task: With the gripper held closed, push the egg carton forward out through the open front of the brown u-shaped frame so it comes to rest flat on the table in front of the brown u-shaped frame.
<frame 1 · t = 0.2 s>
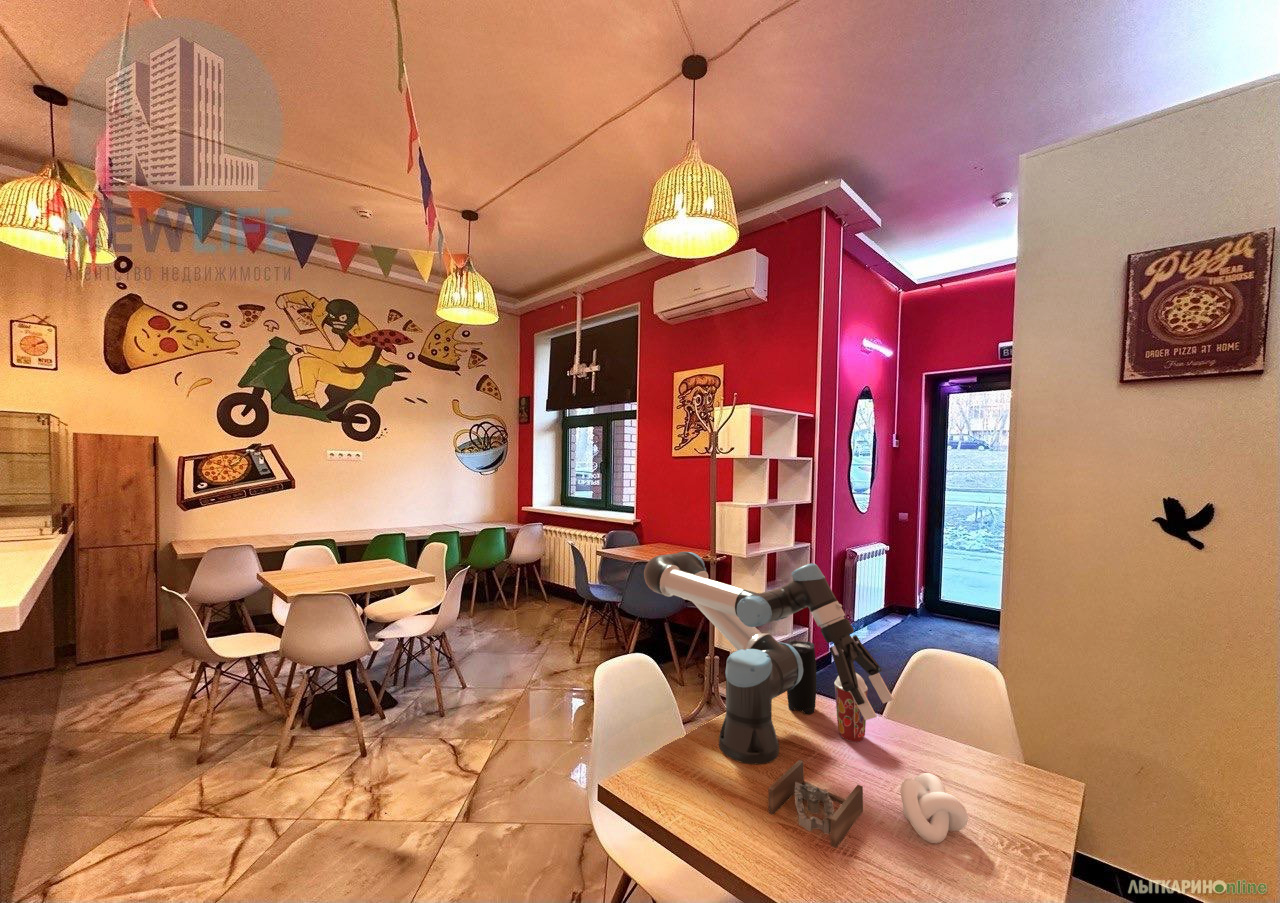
hand: (880, 709, 116), 15 cm above the table, tool tilted 30°, fingers open, 13 cm apart
smoothie: (851, 737, 132), on the table
brown u-shaped frame: (815, 812, 101), on the table
portable speaker: (801, 709, 148), on the table
egg carton: (813, 817, 101), on the table
white knot sculpture: (927, 827, 98), on the table
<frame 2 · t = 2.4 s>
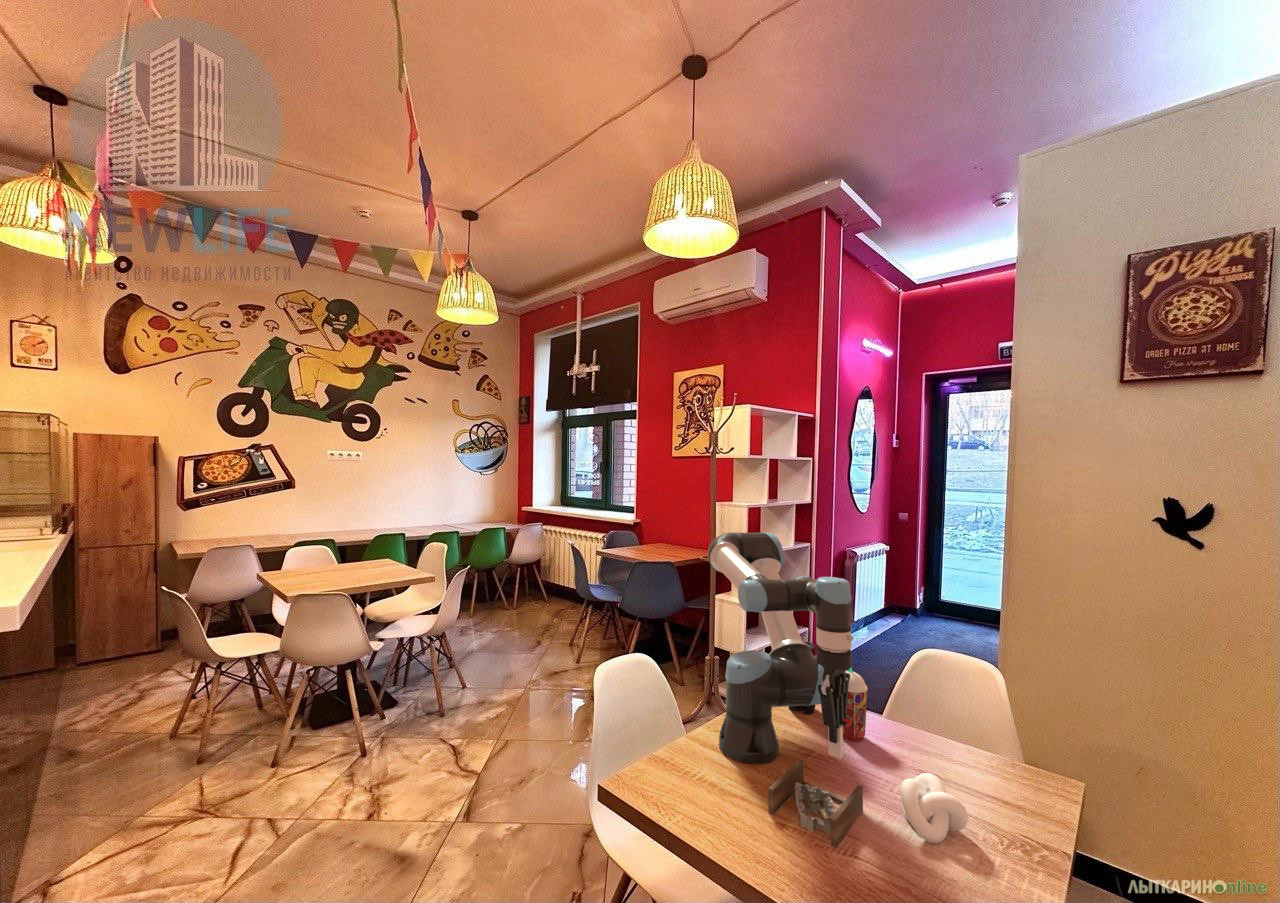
hand: (835, 755, 109), 8 cm above the table, tool pointing down, fingers closed
nothing on the table moved.
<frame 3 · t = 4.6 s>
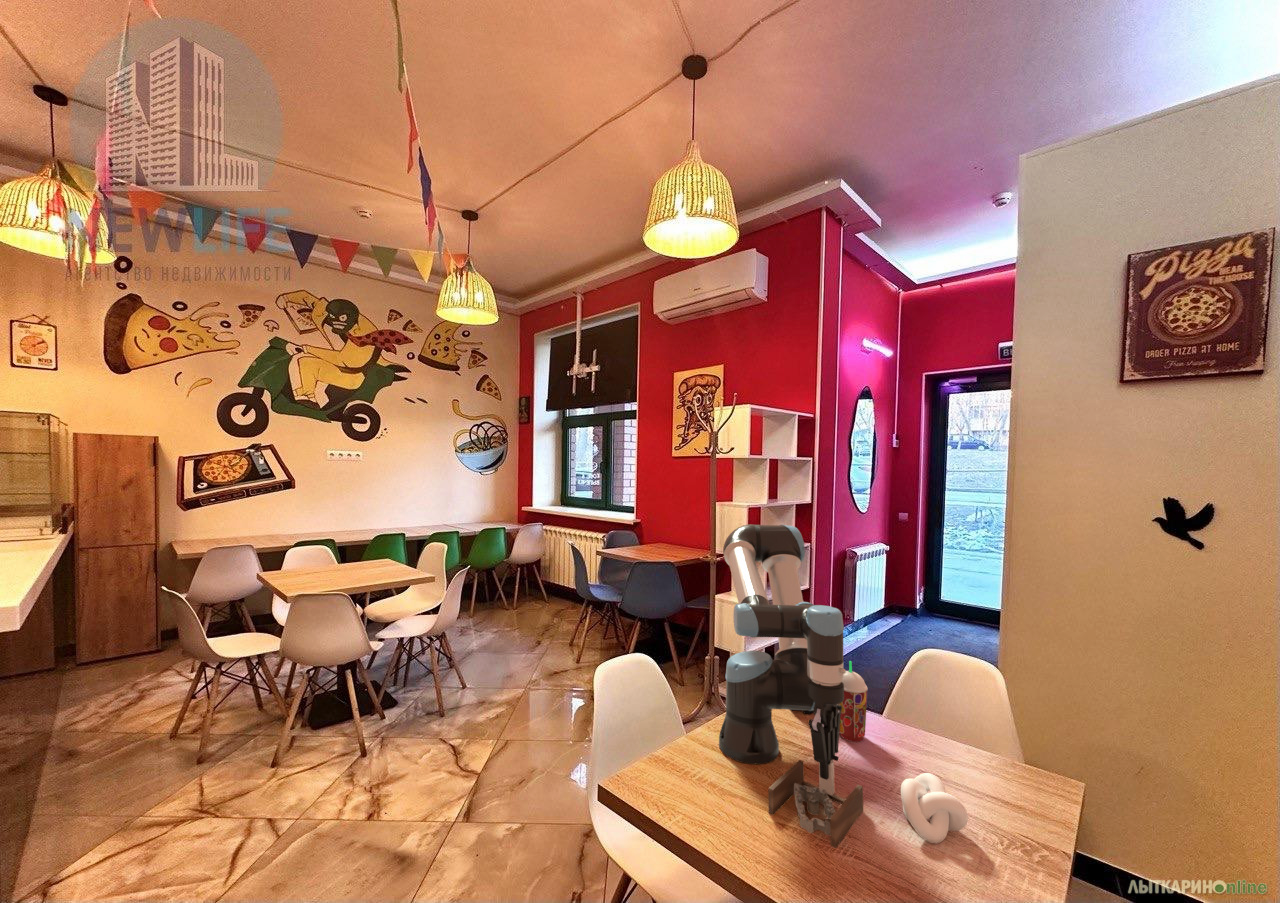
hand: (826, 791, 105), 2 cm above the table, tool pointing down, fingers closed
egg carton: (813, 818, 100), on the table, touching gripper
everything else where it was.
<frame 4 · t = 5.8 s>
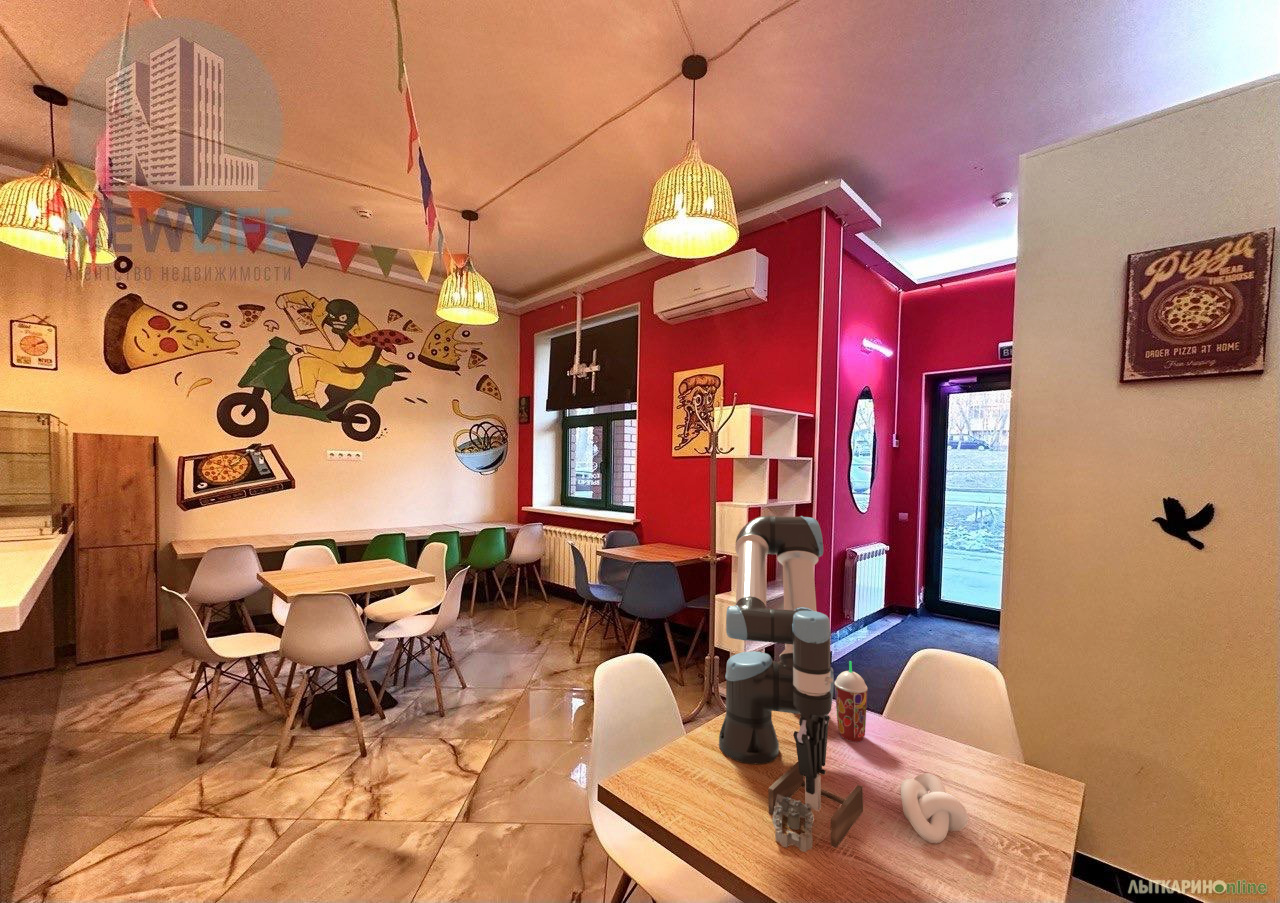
hand: (813, 806, 100), 2 cm above the table, tool pointing down, fingers closed
egg carton: (792, 832, 96), on the table, touching gripper
everything else where it was.
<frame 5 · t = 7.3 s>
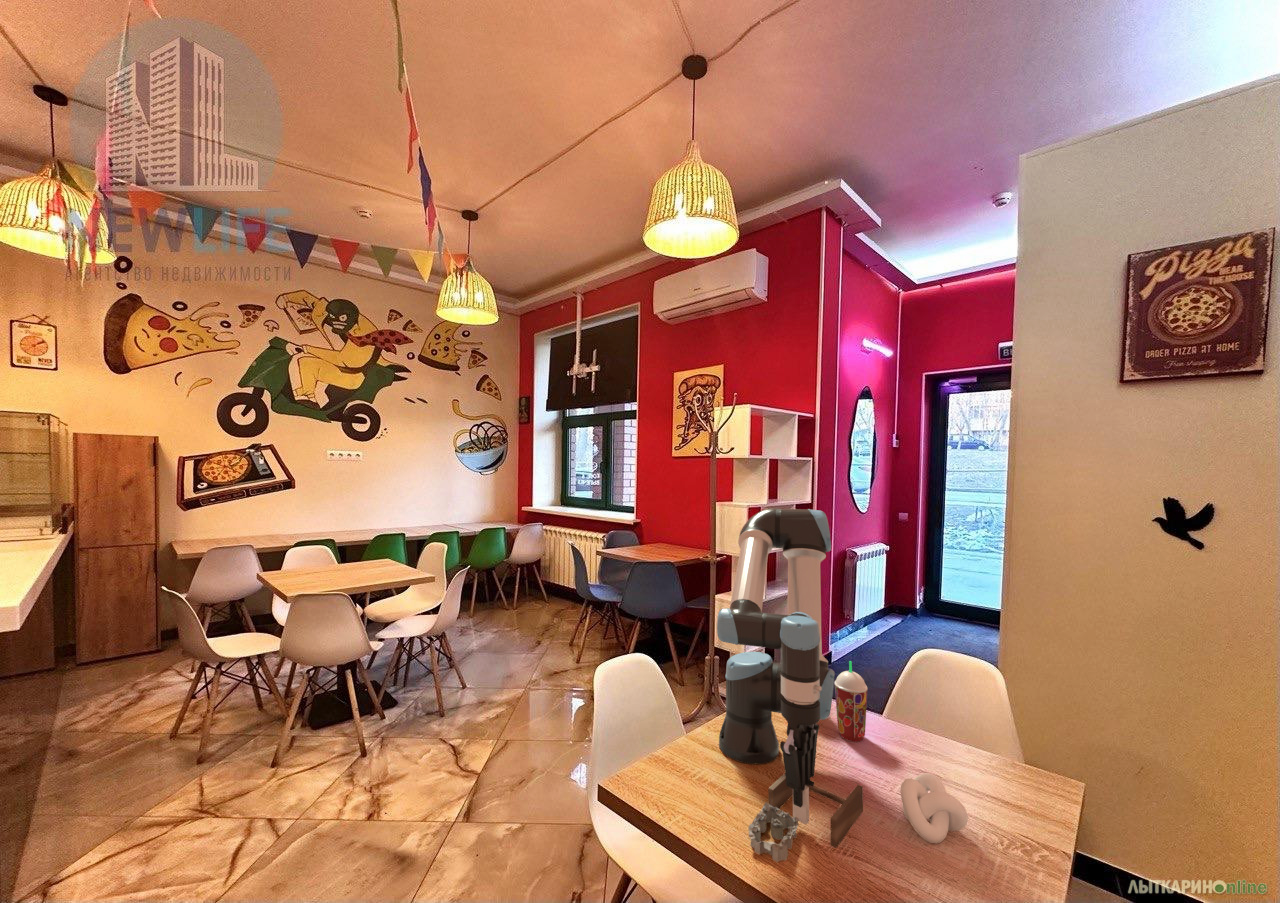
hand: (800, 819, 96), 2 cm above the table, tool pointing down, fingers closed
egg carton: (773, 842, 93), on the table
everything else where it was.
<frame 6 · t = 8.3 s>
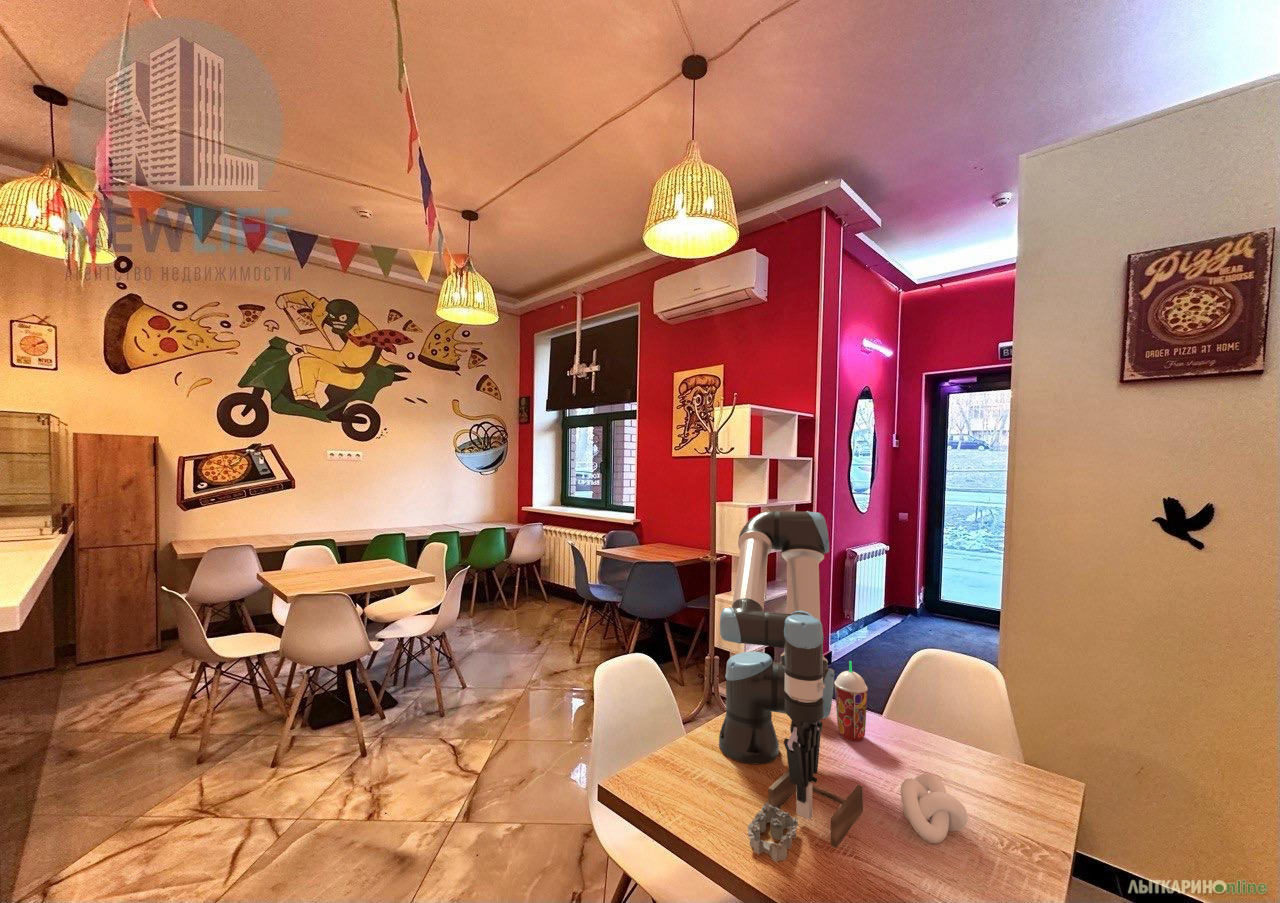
hand: (804, 815, 98), 2 cm above the table, tool pointing down, fingers closed
nothing on the table moved.
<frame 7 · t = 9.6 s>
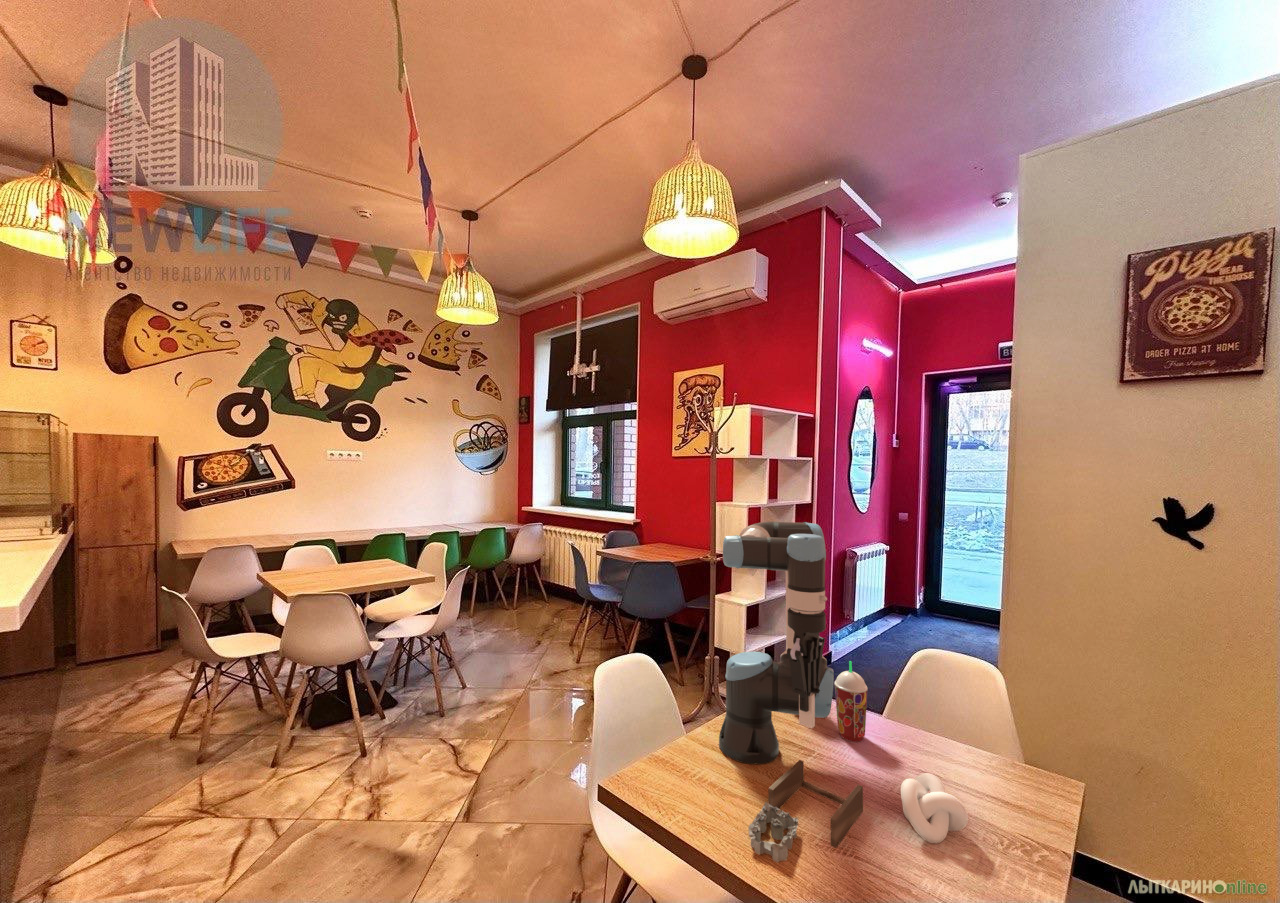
hand: (806, 724, 100), 19 cm above the table, tool pointing down, fingers closed
nothing on the table moved.
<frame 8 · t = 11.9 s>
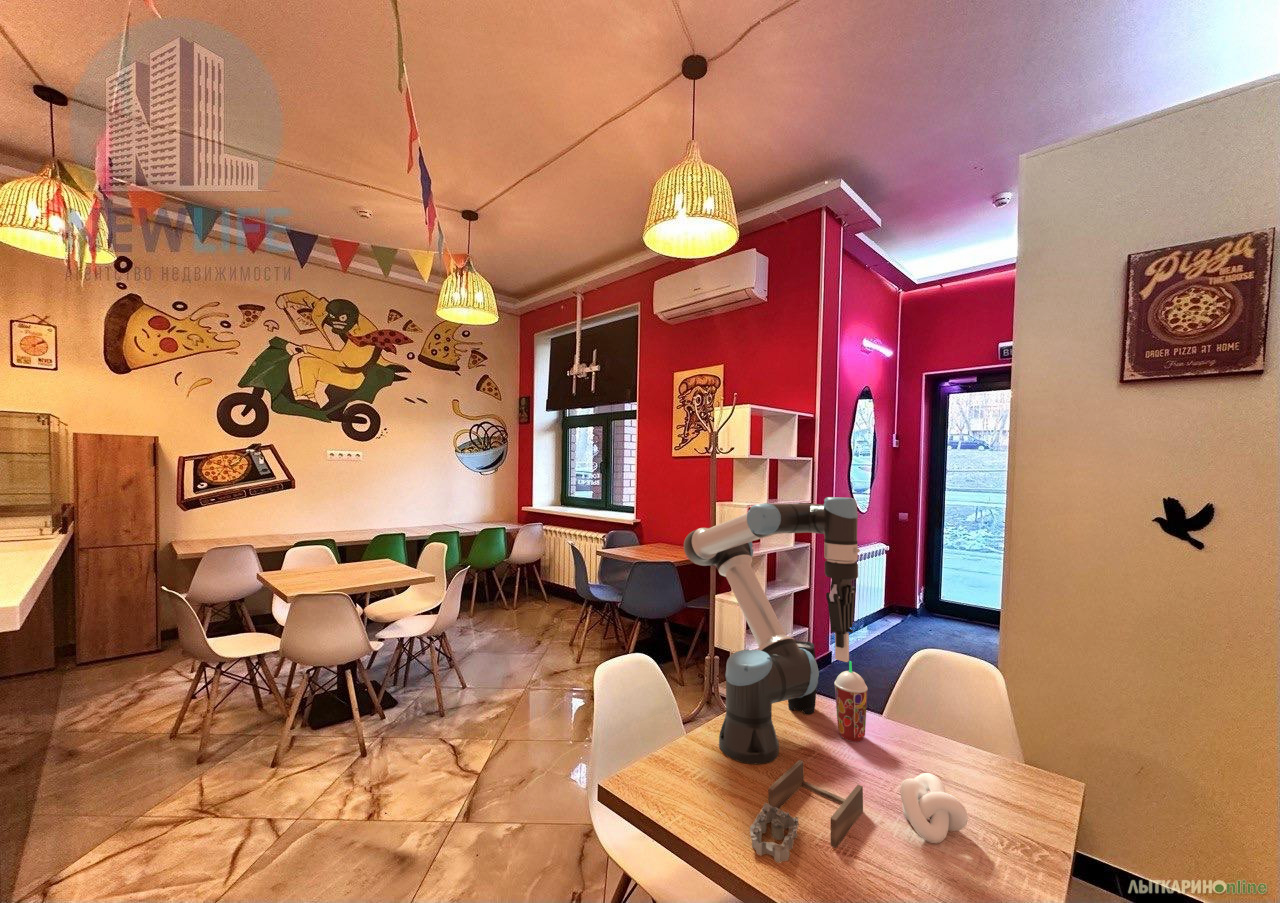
hand: (842, 659, 117), 26 cm above the table, tool pointing down, fingers closed
nothing on the table moved.
at the end: egg carton inside the target area (4.8 cm from its centre), on the table; egg carton touching table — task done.
